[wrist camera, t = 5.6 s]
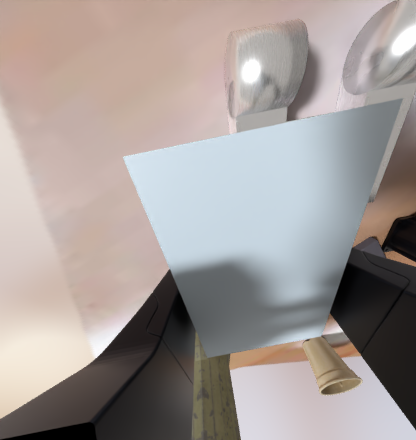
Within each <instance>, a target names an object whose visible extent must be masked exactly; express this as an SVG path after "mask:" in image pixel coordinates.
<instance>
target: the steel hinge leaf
mask: <svg viewBox="0 0 416 440" xmlns="http://www.w3.org/2000/svg"><path fill="white" fill-rule="evenodd" d="M307 57H308V33H307V28H306V25H305V23H304V22H303V21H302V20H300V19H296V20H290V21H285V22H280V23H275V24H269V25H264V26H259V27H254V28H249V29H243V30H238V31H233V32H231V33H230V34H229V36H228V40H227V45H226V53H225V91H226V103H227V114H228V125H229V134H234V133H239V132H244V131H248V130H253V129H258V128H263V127H268V126H272V125H277V124H282V123H287V122H291V121H287V122H286V120H287V107H288V106H289V105H290V104H291V103H292V101H293V100H294V98H295V96H296V95H297V93H298V90H299V88H300V85H301V83H302V80H303V76H304V73H305V68H306V63H307ZM415 92H416V0H396V1H393V2H391V3H389V4H387V5H386V6H384V7H383V8H382V9H380V10H379V11H378V12H377V13H376V14H375V15H374V16H373V17H372V18H371V19H370V20H369V21H368V22H367V23H366V25H365V26H364V27H363V28H362V30H361V31H360V33H359V34H358V36H357V37H356V39H355V41H354V42H353V44H352V46H351V48H350V51H349V53H348V55H347V58H346V61H345V64H344V69H343V74H342V79H341V84H340V89H339V94H338V100H337V105H336V110H335V112H339V111H344V110H348V109H353V108H358V107H363V106H367V105H372V104H377V103H382V102H386V101H391V100H396V99H401V98H403V100H402V103H401V106H400V109H399V112H398V115H397V118H396V121H395V124H394V127H393V129H392V132H391V135H390V138H389V141H388V144H387V147H386V150H385V153H384V156H383V159H382V162H381V164H380V167H379V170H378V173H377V176H376V179H375V182H374V185H373V188H372V191H371V194H370V196H369V199H368V202H367V203H369V202H373V201H374V199H375V196H376V194H377V191H378V188H379V186H380V183H381V181H382V178H383V175H384V173H385V170H386V167H387V165H388V162H389V160H390V157H391V154H392V152H393V149H394V147H395V144H396V141H397V139H398V136H399V134H400V131H401V128H402V126H403V123H404V120H405V118H406V115H407V113H408V110H409V107H410V105H411V102H412V100H413V97H414V94H415ZM323 115H325V114H323ZM318 116H320V115H318ZM313 117H315V116H313ZM308 118H310V117H308ZM303 119H306V118H303ZM297 120H301V119H297ZM292 121H296V120H292Z"/></svg>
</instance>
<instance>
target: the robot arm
mask: <svg viewBox="0 0 416 440" xmlns="http://www.w3.org/2000/svg"><path fill="white" fill-rule="evenodd" d="M382 251H383V252H389V251H395V252H397V253H399V254H401V255H403V256H405V257H407V258H409V259H411V260H412V261H414V262H416V215H414V216H409V217H403V218H399V219H397V220H395V222H394V224H393V226H392V228H391V230H390V232H389V234H388V236H387V238H386V240H385V242H384V244H383V246H382ZM330 314H331V315H332V316H333V318H334V319H335V320H336V322H337V323H338V324H339V326H340V327H341V329H342V330H343V331H344V333H345V334H346V335H347V337H348V338H349V339H350V341H351V342H352V344H353V345H354V346H355V348H356V349H357V350H358V352H359V353H360V354H361V356H362V357H363V359H364V360H365V361H366V363H367V364H368V366H369V367H370V368H371V370H372V371H373V372H374V374H375V375H376V376H377V378H378V379H379V380H380V382H381V383H382V385H383V386H384V387H385V389H386V390H387V391H388V393H389V394H390V396H391V397H392V398H393V400H394V401H395V402H396V404H397V405H398V406H399V408H400V409H401V410H402V412H403V413H404V414H405V416H406V417H407V419H408V420H409V421H410V423H411V424H412V425H413V427H414V428H415V430H416V267H415V266H411V265H408V264H404V263H401V262H397V261H394V260H390V259H387V258H384V257H380V256H377V255H374V254H371V253H368V252H365V251H361V250H358V249H355V248H352V249H351V252H350V255H349V258H348V261H347V263H346V266H345V269H344V272H343V275H342V278H341V281H340V284H339V287H338V290H337V293H336V296H335V298H334V301H333V304H332V307H331V310H330ZM195 333H196V330H195V327H194V325H193V323H192V320H191V318H190V315H189V313H188V311H187V308H186V306H185V304H184V301H183V299H182V296H181V294H180V292H179V289H178V287H177V285H176V282H175V280H174V278H173V275H172V273H171V270H170V269H169V271H168V272H167V273H166V275H165V276H164V277H163V279H162V280H161V281H160V283H159V284H158V286H157V287H156V288H155V290H154V291H153V293H152V294H151V295H150V296H149V298H148V299H147V300H146V302H145V303H144V304H143V306H142V307H141V308H140V309H139V311H138V312H137V313H136V314H135V315H134V317H133V318H132V319H131V320H130V321H129V322H128V324H127V325H126V326H125V327H124V328H123V329H122V331H121V332H120V333H119V334H118V335H117V336H116V337H115V339H114V340H113V341H112V342H111V343H110V344H109V346H108V347H107V348H106V349H105V350H104V351H103V352H102V353H101V354H100V355H99V356H98V357H97V358H96V359H95V360H94V361H93V362H91V363H90V364H89V365H87V366H86V367H84V368H83V369H82V370H80V371H78V372H77V373H75V374H73V375H72V376H70V377H68V378H67V379H65V380H63V381H62V382H60V383H59V384H57V385H55V386H54V387H52V388H50V389H49V390H47V391H46V392H44V393H42V394H41V395H39V396H38V397H36V398H35V399H32V400H31V401H29V402H28V403H26V404H24V405H23V406H21V407H19V408H18V409H16V410H15V411H13V412H11V413H10V414H8V415H6V416H5V417H3V418H1V419H0V440H192V417H193V390H194V387H193V385H194V361H195Z"/></svg>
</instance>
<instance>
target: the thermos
mask: <svg viewBox="0 0 416 440" xmlns="http://www.w3.org/2000/svg"><path fill="white" fill-rule="evenodd" d="M229 361H230V354H226V355H220V356H215V357H210V358H207V356H206V353H205V351H204V349H203V346H202V344H201V342H200V339H199V337H198V334H197V332H196V333H195V361H194V385H193V387H194V390H193V417H192V440H241V438H240V431H239V426H238V419H237V414H236V407H235V401H234V394H233V388H232V382H231V376H230V370H229Z"/></svg>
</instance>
